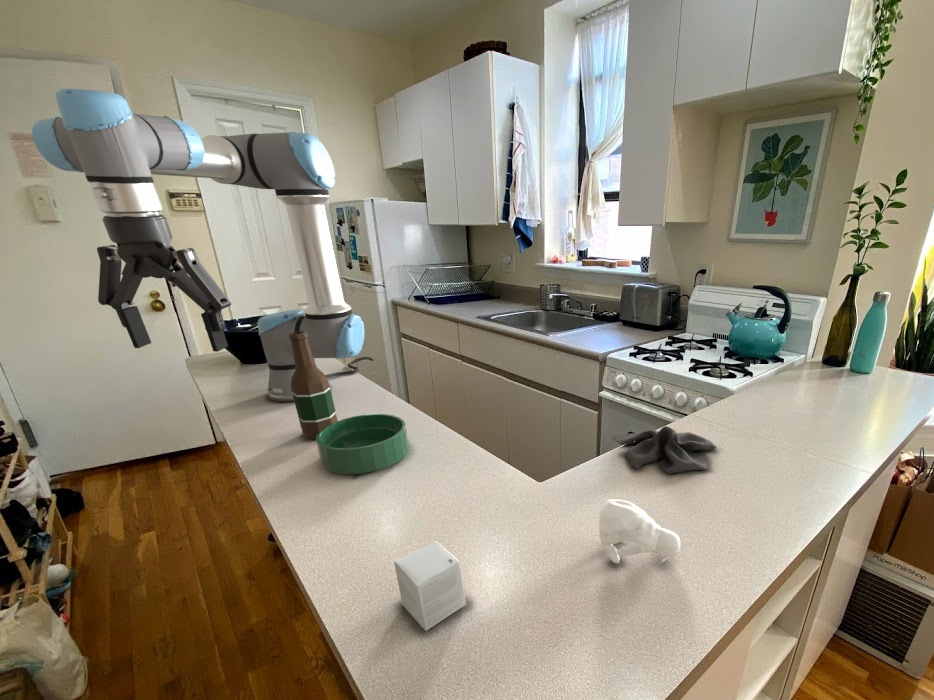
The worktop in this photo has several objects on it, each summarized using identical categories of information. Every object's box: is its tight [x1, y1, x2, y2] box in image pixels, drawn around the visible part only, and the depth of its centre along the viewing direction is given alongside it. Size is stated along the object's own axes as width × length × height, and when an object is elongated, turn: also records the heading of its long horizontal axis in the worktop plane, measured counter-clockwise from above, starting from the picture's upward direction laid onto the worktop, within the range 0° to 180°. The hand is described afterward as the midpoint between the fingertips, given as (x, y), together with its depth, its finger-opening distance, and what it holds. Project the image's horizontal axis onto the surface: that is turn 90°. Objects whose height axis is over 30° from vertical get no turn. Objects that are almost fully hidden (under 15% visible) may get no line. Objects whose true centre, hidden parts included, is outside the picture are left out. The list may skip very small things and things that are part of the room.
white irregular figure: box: [598, 499, 681, 564], centre depth 67 cm, size 6×8×12 cm
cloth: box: [611, 425, 717, 474], centre depth 97 cm, size 22×19×6 cm
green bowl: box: [315, 413, 410, 475], centre depth 97 cm, size 17×17×6 cm
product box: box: [393, 540, 467, 632], centre depth 59 cm, size 6×6×7 cm
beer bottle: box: [289, 331, 339, 441], centre depth 104 cm, size 8×8×24 cm
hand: (182, 347), depth 80 cm, fingers open, 13 cm apart
